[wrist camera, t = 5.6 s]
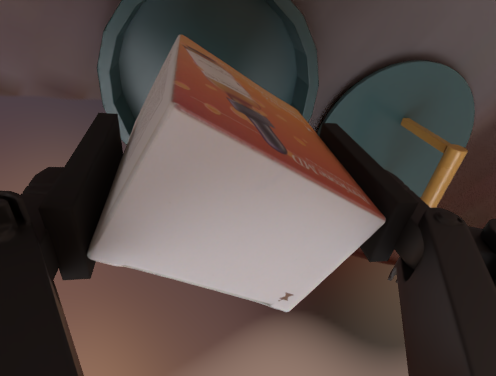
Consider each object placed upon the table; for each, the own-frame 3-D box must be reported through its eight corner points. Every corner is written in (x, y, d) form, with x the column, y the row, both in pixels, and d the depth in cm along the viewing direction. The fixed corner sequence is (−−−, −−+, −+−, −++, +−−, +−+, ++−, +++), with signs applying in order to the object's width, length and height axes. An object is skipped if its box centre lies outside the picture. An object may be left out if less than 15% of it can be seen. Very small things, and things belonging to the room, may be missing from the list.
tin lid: (293, 210, 34) (320, 267, 27) (333, 50, 25) (388, 75, 18) (422, 208, 37) (475, 259, 30) (498, 66, 28) (598, 93, 21)
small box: (298, 109, 18) (395, 222, 10) (247, 177, 21) (291, 317, 12) (178, 28, 15) (170, 97, 6) (132, 120, 17) (80, 264, 9)
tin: (121, 165, 27) (114, 184, 25) (91, -55, 19) (76, -60, 16) (286, 167, 30) (295, 184, 28) (325, -20, 22) (343, -20, 19)
